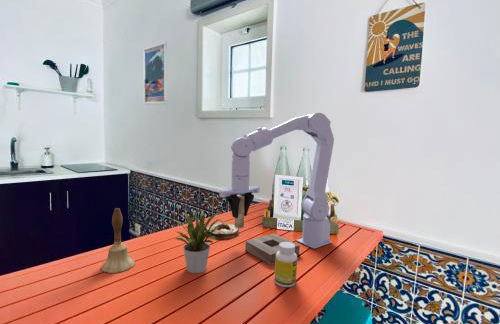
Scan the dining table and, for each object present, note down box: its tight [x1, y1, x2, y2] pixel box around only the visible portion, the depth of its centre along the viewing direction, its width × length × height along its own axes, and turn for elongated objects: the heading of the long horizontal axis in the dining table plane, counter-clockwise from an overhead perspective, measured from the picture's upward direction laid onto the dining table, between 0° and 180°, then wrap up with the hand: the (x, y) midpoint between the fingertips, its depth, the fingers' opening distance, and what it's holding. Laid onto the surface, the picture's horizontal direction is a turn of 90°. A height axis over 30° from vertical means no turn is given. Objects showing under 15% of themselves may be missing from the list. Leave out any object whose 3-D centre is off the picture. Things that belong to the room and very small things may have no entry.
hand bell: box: [100, 207, 136, 274], centre depth 75 cm, size 8×8×16 cm
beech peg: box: [234, 195, 245, 229], centre depth 91 cm, size 3×3×10 cm
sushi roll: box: [204, 222, 240, 241], centre depth 103 cm, size 15×15×4 cm
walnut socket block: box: [244, 233, 301, 266], centre depth 87 cm, size 12×12×3 cm
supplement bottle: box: [274, 242, 298, 288], centre depth 70 cm, size 5×5×10 cm
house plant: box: [170, 209, 222, 274], centre depth 75 cm, size 14×14×16 cm
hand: (239, 216), depth 91 cm, fingers closed on beech peg, 3 cm apart
